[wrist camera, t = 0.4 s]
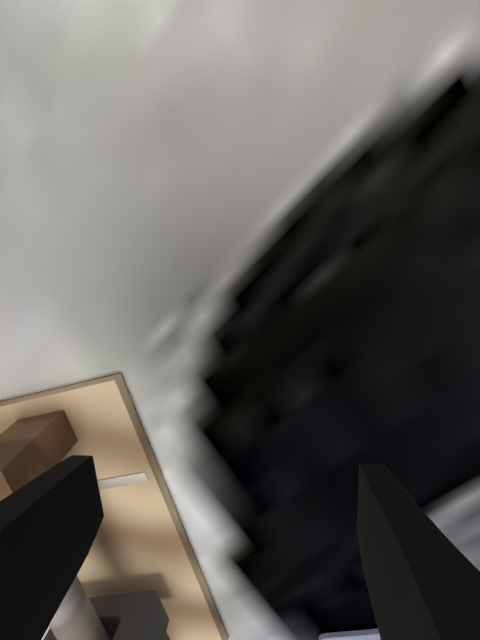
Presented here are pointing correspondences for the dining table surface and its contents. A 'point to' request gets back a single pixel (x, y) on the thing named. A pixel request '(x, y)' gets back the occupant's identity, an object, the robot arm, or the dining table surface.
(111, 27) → the dining table surface
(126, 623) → the charcoal rectangular prism
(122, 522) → the pipe stand
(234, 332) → the dining table surface
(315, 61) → the dining table surface
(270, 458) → the dining table surface
